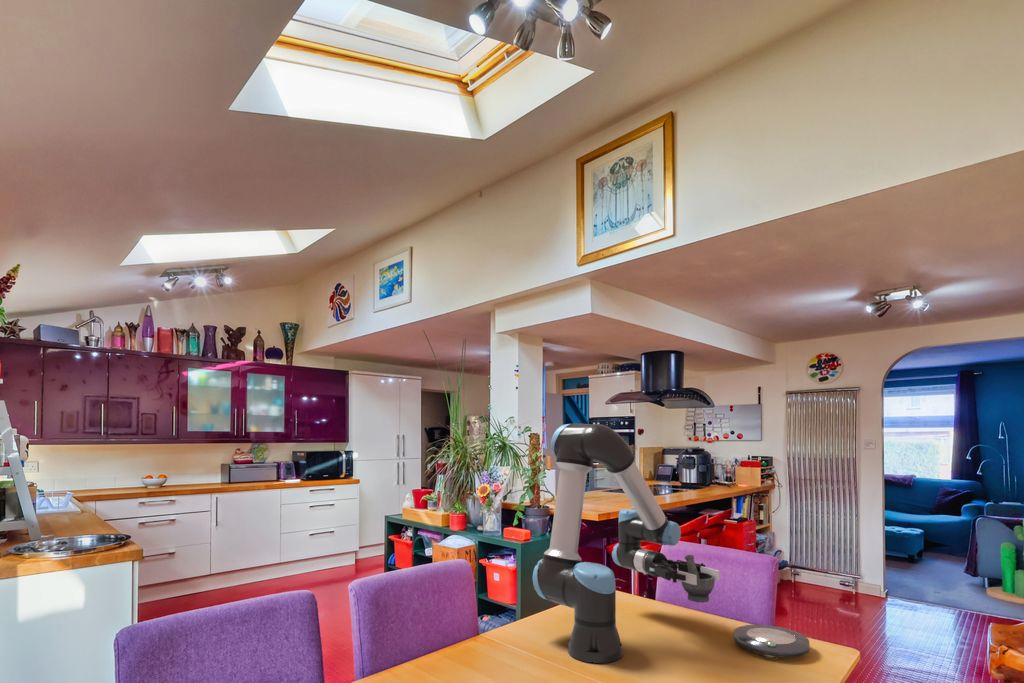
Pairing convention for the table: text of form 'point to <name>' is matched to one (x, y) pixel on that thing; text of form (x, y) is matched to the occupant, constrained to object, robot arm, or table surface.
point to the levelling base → (771, 641)
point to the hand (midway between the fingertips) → (707, 577)
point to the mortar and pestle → (698, 583)
